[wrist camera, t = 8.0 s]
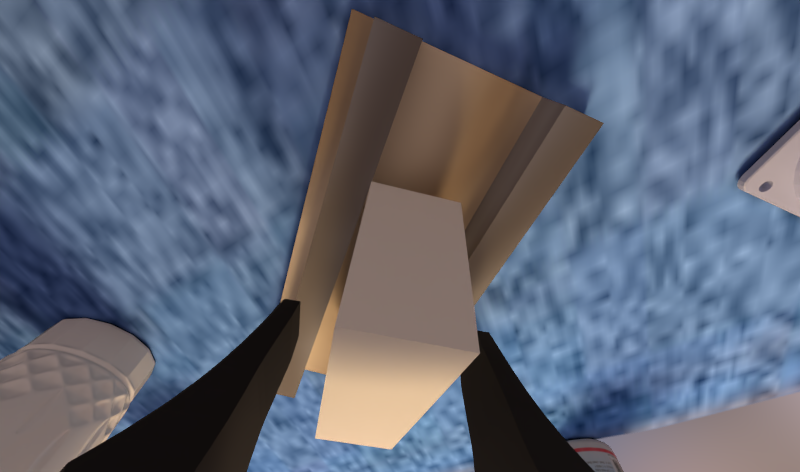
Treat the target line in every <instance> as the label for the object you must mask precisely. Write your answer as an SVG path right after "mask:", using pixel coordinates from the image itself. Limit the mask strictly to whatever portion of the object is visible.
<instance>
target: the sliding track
mask: <svg viewBox="0 0 800 472" xmlns="http://www.w3.org/2000/svg"><path fill="white" fill-rule="evenodd" d="M422 40H423V39H422V38H420V37H417V36H415V35H413V34H411V33H409V32H407V31H405V30H402V29H400V28H398V27H396V26H394V25H392V24H389V23H387V22H385V21H383V20H381V19H379V18H377V17H374V19H373V18H371V17H369V16H367V15H364V14H362V13H360V12H358V11H356V10H354V9H352V10H351V15H350V19H349V23H348V27H347V31H346V35H345V39H344V43H343V47H342V52H341V56H340V60H339V64H338V68H337V72H336V76H335V80H334V84H333V88H332V93H331V97H330V101H329V105H328V109H327V113H326V117H325V121H324V125H323V130H322V134H321V138H320V142H319V146H318V150H317V154H316V158H315V162H314V167H313V171H312V175H311V179H310V183H309V187H308V191H307V195H306V199H305V204H304V208H303V212H302V216H301V220H300V224H299V228H298V232H297V236H296V240H295V245H294V249H293V253H292V257H291V261H290V265H289V269H288V273H287V277H286V282H285V286H284V290H283V294H282V298H281V301H282V300H284V299H290V300H296V301H301V303H300V325H299V337H298V340H297V344H296V347H295V350H294V353H293V356H292V359H291V362H290V364H289V366H288V369H287V371H286V373H285V375H284V378H283V380H282V382H281V385H280V387H279V389H278V391H277V393H276V394H279V395H284V396H288V397H292V398H295V395H296V392H297V389H298V386H299V384H300V381H301V378H302V375H303V372H304V370H305V369H306V370H310V371H314V372H318V373H322V374H327V368H328V362H329V356H330V350H331V345H332V339H333V333H334V327H335V323H336V319H337V315H338V311H339V307H340V303H341V299H342V295H343V292H344V288H345V284H346V280H347V276H348V272H349V268H350V264H351V260H352V256H353V252H354V248H355V244H356V240H357V236H358V232H359V228H360V224H361V220H362V216H363V213H364V209H365V205H366V201H367V197H368V193H369V189H370V185H371V181H372V182H376V183H381V184H385V185H389V186H393V187H397V188H401V189H406V190H410V191H414V192H418V193H422V194H426V195H430V196H435V197H439V198H443V199H447V200H451V201H455V202H460V203H461V206H462V214H463V222H464V230H465V238H466V246H467V254H468V262H469V270H470V278H471V286H472V294H473V302H474V305H475V304H476V303H477V301H478V300H479V298H480V297H481V296H482V294H483V293H484V291H485V290H486V288H487V287H488V286H489V284H490V283H491V281H492V280H493V279H494V277H495V276H496V274H497V273H498V272H499V270H500V269H501V267H502V266H503V265H504V263H505V262H506V260H507V259H508V257H509V256H510V255H511V253H512V252H513V250H514V249H515V248H516V246H517V245H518V243H519V242H520V241H521V239H522V238H523V236H524V235H525V233H526V232H527V231H528V229H529V228H530V226H531V225H532V224H533V222H534V221H535V219H536V218H537V217H538V215H539V214H540V212H541V211H542V210H543V208H544V207H545V205H546V204H547V202H548V201H549V200H550V198H551V197H552V195H553V194H554V193H555V191H556V190H557V188H558V187H559V186H560V184H561V183H562V181H563V180H564V179H565V177H566V176H567V174H568V173H569V171H570V170H571V169H572V167H573V166H574V164H575V163H576V162H577V160H578V159H579V157H580V156H581V155H582V153H583V152H584V150H585V149H586V147H587V146H588V145H589V143H590V142H591V140H592V139H593V138H594V136H595V135H596V133H597V132H598V131H599V129H600V128H601V126H602V125H603V124H604V123H602V122H600V121H598V120H596V119H594V118H591V117H589V116H587V115H585V114H583V113H581V112H579V111H576V110H574V109H572V108H570V107H568V106H566V105H563V104H560V103H557V102H555V101H552V100H549V99H546V98H544V97H541V96H539V95H537V94H535V93H533V92H530V91H528V90H526V89H524V88H522V87H520V86H518V85H515V84H513V83H511V82H509V81H507V80H505V79H502V78H500V77H498V76H496V75H494V74H492V73H489V72H487V71H485V70H483V69H481V68H479V67H477V66H474V65H472V64H470V63H468V62H466V61H464V60H461V59H459V58H457V57H455V56H453V55H451V54H448V53H446V52H444V51H442V50H440V49H438V48H436V47H433V46H431V45H429V44H427V43H425V42H423V41H422Z"/></svg>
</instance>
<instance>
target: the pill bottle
mask: <svg viewBox="0 0 800 472" xmlns="http://www.w3.org/2000/svg"><path fill="white" fill-rule="evenodd" d="M567 442H568V443H569V444H570V446H571V447H572V448H573V449H574V450H575V451H576V452H577V453H578V454H579V455H580V456H581V457H582V459H583V460H584V461H585V462H586V463H587V464H588V465H589V466H590V467H591V468H592V469H593V470H594V471H595V472H623V470H622V468H621V466H620V464H619V462H618V460H617V458H616V456H615V454H614V452H613V451H612V449H611V448H610V447H609V446H608V445H607V444H605V443H603V442H601V441H598V440H594V439H576V440H568V441H567Z"/></svg>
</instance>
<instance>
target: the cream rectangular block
mask: <svg viewBox="0 0 800 472" xmlns="http://www.w3.org/2000/svg"><path fill="white" fill-rule="evenodd" d="M479 354H480V350H479V342H478V334H477V326H476V318H475V310H474V302H473V294H472V286H471V278H470V270H469V262H468V254H467V246H466V238H465V230H464V222H463V214H462V206H461V203H460V202H455V201H451V200H447V199H443V198H439V197H435V196H430V195H426V194H422V193H418V192H414V191H410V190H406V189H401V188H397V187H393V186H389V185H385V184H381V183H376V182H372V181H371V185H370V189H369V193H368V197H367V201H366V205H365V209H364V213H363V216H362V220H361V224H360V228H359V232H358V236H357V240H356V244H355V248H354V252H353V256H352V260H351V264H350V268H349V272H348V276H347V280H346V284H345V288H344V292H343V295H342V299H341V303H340V307H339V311H338V315H337V319H336V323H335V327H334V333H333V339H332V345H331V350H330V356H329V362H328V368H327V374H326V379H325V385H324V391H323V397H322V402H321V408H320V414H319V420H318V425H317V431H316V437H315V438H317V439H324V440H331V441H337V442H344V443H351V444H358V445H365V446H372V447H379V448H386V449H392V448H393V447H394V446H395V445H396V444H397V443H398V442H399V440H400V439H401V438H402V437H403V436H404V435H405V434H406V433H407V432H408V431H409V430H410V429H411V428H412V426H413V425H414V424H415V423H416V422H417V421H418V420H419V419H420V418H421V417H422V416H423V415H424V413H425V412H426V411H427V410H428V409H429V408H430V407H431V406H432V405H433V404H434V403H435V402H436V400H437V399H438V398H439V397H440V396H441V395H442V394H443V393H444V392H445V391H446V390H447V389H448V387H449V386H450V385H451V384H452V383H453V382H454V381H455V380H456V379H457V378H458V377H459V376H460V374H461V373H462V372H463V371H464V370H465V369H466V368H467V367H468V366H469V365H470V364H471V363H472V362H473V360H474V359H475V358H476V357H477V356H478V355H479Z"/></svg>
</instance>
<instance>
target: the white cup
mask: <svg viewBox="0 0 800 472" xmlns="http://www.w3.org/2000/svg"><path fill="white" fill-rule="evenodd" d="M154 366H155V361H154V359H153V356H152V354H151V352H150V350H149V349H148V348H147V347H146V346H145V345H144V344H143V343H142V342H141V341H139V340H138V339H137V338H136V337H135V336H134V335H132V334H130V333H128V332H126V331H124V330H122V329H120V328H118V327H116V326H114V325H112V324H109V323H105V322H101V321H96V320H92V319H88V318H76V319H63V320H61V321H60V322H58V323H57V324H55V325H53V326H52V327H50V328H49V329H47V330H46V331H45V332H43V333H42V334H40V335H39V336H38V337H36V338H35V339H34V340H32V341H31V342H29V343H28V344H27V345H25V346H24V347H22V348H21V349H19V350H18V351H17V352H16V353H13V354H10V355H8V356H6V357H4V358H3V359H1V360H0V472H60V471H61V470H62V468H63V467H64V466H65V465H66V464H67V463H68V462H70V461H71V460H73V459H75V458H77V457H78V456H80V455H82V454H84V453H85V452H87V451H89V450H91V449H92V448H94V447H96V446H97V445H99V444H101V443H103V442H104V441H106V440H107V438H108V437H109V435H110V434H111V432H112V431H113V429H114V428H115V427H116V425H117V424H118V422H119V421H120V420H121V418H122V417H123V415H124V414H125V412H126V411H127V409H128V408H129V405H130V402H131V401H132V400H133V399H134V397H135V396H136V395H137V393H138V392H139V391H140V389H141V388H142V386H143V385H144V384H145V382H146V381H147V380H148V378H149V377H150V375H151V373H152V371H153V368H154Z"/></svg>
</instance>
